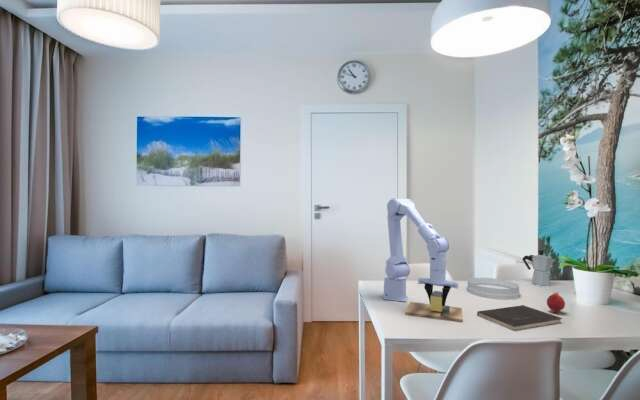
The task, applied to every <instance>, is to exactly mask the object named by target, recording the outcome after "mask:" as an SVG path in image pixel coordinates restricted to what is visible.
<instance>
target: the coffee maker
mask: <svg viewBox="0 0 640 400" xmlns="http://www.w3.org/2000/svg"><path fill="white" fill-rule="evenodd" d="M544 252H545V251H544V250H542V249H540V250H538V254H536V255H534V254H530V255H524V256H523V257H522V262H523V263H524V264H525V266H526V268H527V270H528V271H529V270H531V269H533V273H532V278H531V283H532V284H534V285H533V286H535V285H540V286H550V285H552V284H551V279H550V273H549V271H550V269H551V266H552V265H553V263H554V262H555V261H556V259H555V258H554V259H553V258H551V257H550V256H547V255H544ZM527 260H528V261H529V262H531V263H532V268H531V266H530V265H529V263H528V262H527ZM532 284H531V285H532ZM540 286H539V287H540ZM550 287H551V286H550Z"/></svg>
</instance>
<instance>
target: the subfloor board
mask: <svg viewBox="0 0 640 400" xmlns="http://www.w3.org/2000/svg"><path fill="white" fill-rule="evenodd" d="M404 314H405V315H406V316H414V317H421V318H429V319H436V320H443V321H449V322H451V321H452V322H460V323H463V319H464V318H463V307H457V306H450V305H445V306H444V309H443V310H442V312H438V311H432V310H430V303H422V302H415V301H414V302H413V301H409V303H408V305H407V307H406V309H405V312H404Z"/></svg>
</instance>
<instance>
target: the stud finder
mask: <svg viewBox="0 0 640 400" xmlns="http://www.w3.org/2000/svg"><path fill="white" fill-rule="evenodd" d="M442 301H443V292H442V290H441V291H439V290H433V293H432V294H431V299H430V302H429V304H430V310H432V311H438V312H442V310H443V309H444V306H442Z"/></svg>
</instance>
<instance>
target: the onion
mask: <svg viewBox="0 0 640 400" xmlns="http://www.w3.org/2000/svg"><path fill="white" fill-rule="evenodd" d="M546 305H547V307H548V309H549V310H551V311H552V312H554V313H559V312H561V311H562V310H564V309H565V306H566V302H565V300H564V298H562V296H560V294H559V292H557V291H555V292H553V293H552V294H551V295H549V296H548V297H547V299H546Z"/></svg>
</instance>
